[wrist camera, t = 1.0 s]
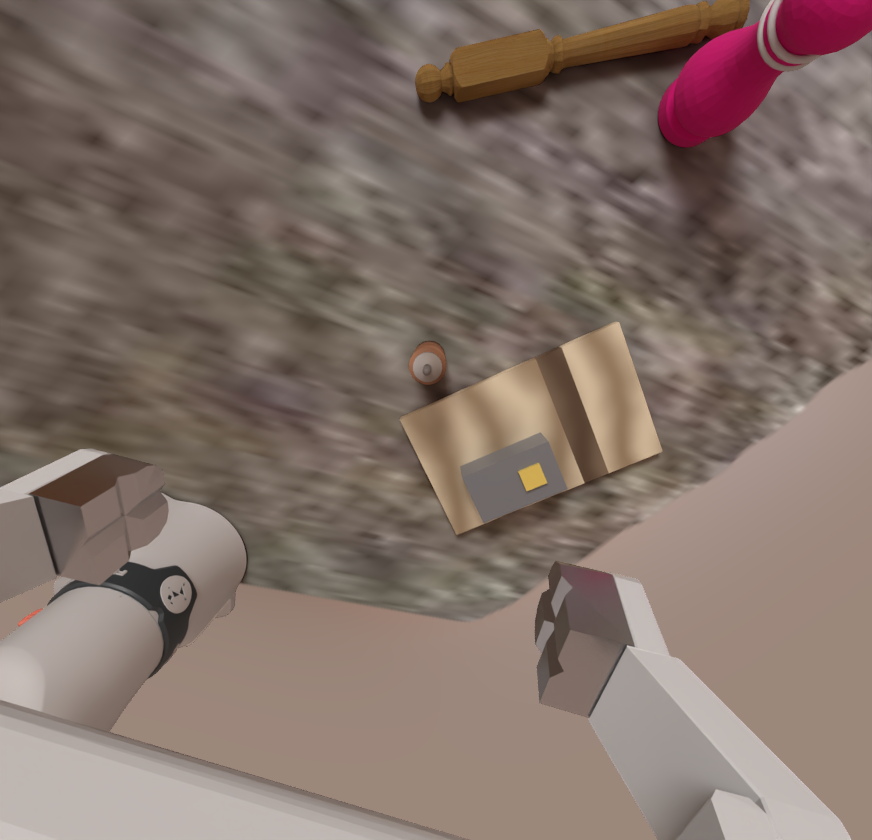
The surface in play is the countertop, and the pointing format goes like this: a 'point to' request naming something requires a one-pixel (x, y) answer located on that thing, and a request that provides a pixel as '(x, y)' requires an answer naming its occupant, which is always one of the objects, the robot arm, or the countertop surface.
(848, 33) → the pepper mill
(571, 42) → the tap handle
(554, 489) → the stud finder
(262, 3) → the countertop surface
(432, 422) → the subfloor panel
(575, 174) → the countertop surface
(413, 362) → the awl
